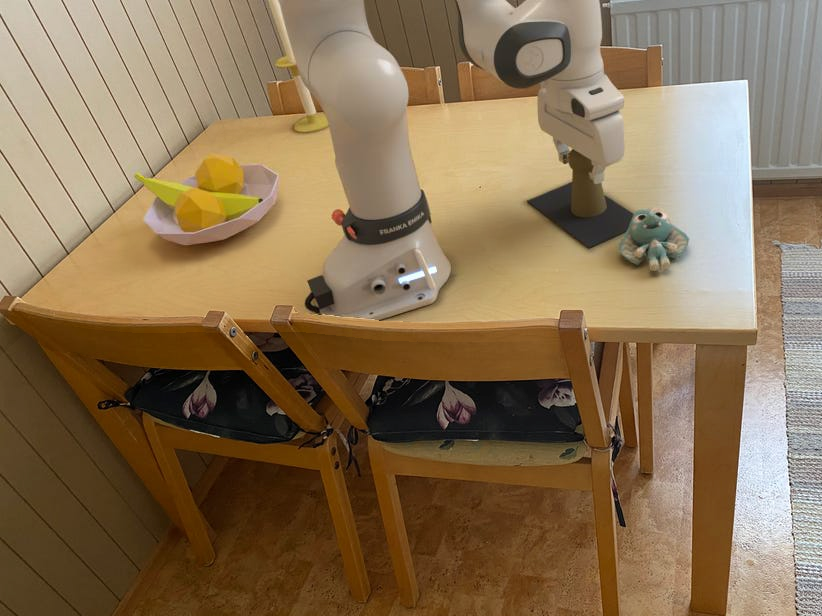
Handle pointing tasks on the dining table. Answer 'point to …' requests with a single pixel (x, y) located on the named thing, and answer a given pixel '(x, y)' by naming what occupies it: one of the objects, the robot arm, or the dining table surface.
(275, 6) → the candle
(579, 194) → the cork
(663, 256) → the stuffed animal
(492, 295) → the dining table surface
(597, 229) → the mat
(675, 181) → the dining table surface
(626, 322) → the dining table surface
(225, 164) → the fruit bowl
